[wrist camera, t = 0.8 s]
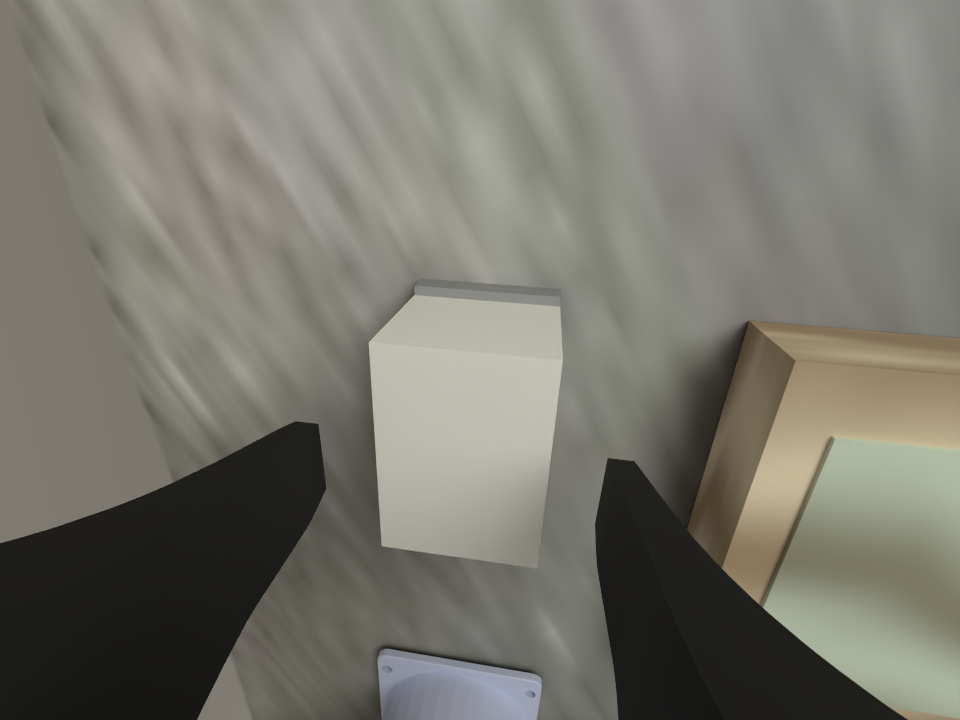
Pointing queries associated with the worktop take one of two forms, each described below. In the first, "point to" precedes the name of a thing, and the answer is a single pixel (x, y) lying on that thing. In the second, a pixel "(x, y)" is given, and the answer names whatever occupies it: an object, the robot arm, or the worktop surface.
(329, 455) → the worktop surface
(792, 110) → the worktop surface
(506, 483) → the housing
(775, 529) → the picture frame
